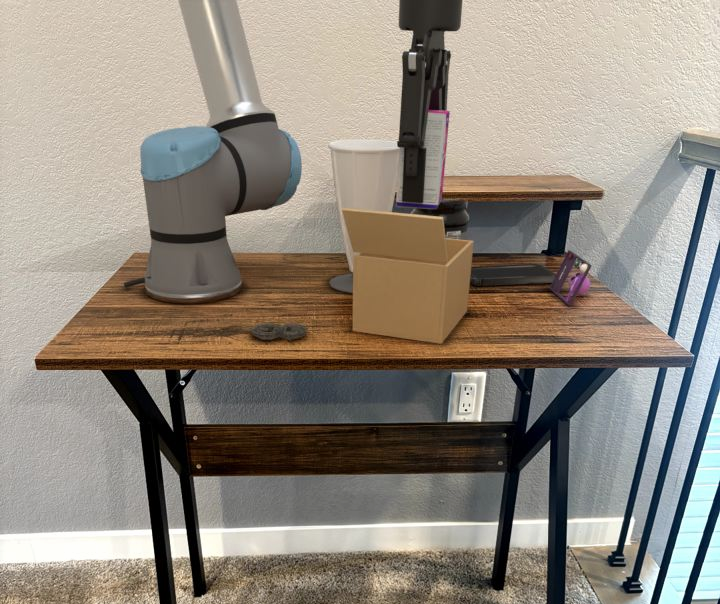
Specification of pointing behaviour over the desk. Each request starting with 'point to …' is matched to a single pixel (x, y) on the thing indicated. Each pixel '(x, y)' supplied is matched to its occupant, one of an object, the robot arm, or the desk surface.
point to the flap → (396, 234)
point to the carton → (412, 293)
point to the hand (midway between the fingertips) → (420, 197)
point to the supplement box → (429, 162)
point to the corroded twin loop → (278, 331)
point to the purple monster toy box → (577, 282)
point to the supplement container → (450, 217)
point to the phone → (510, 275)
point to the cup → (362, 186)
